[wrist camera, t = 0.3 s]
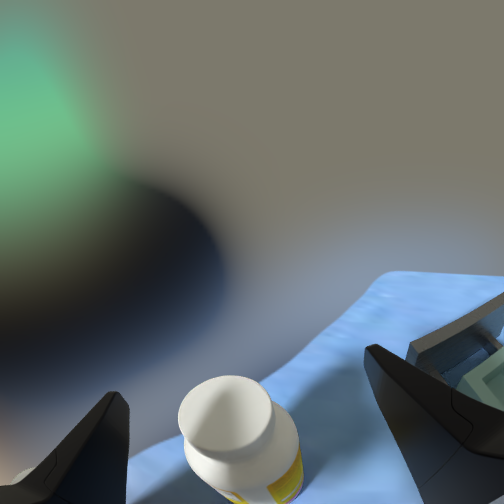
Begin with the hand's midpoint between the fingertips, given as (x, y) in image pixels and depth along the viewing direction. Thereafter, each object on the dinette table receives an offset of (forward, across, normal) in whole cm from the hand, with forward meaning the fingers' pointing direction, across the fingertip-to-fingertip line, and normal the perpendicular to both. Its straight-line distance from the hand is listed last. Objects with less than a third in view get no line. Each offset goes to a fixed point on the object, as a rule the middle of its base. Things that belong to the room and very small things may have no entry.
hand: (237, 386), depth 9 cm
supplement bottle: (+2, +2, +17) cm, 17 cm away
